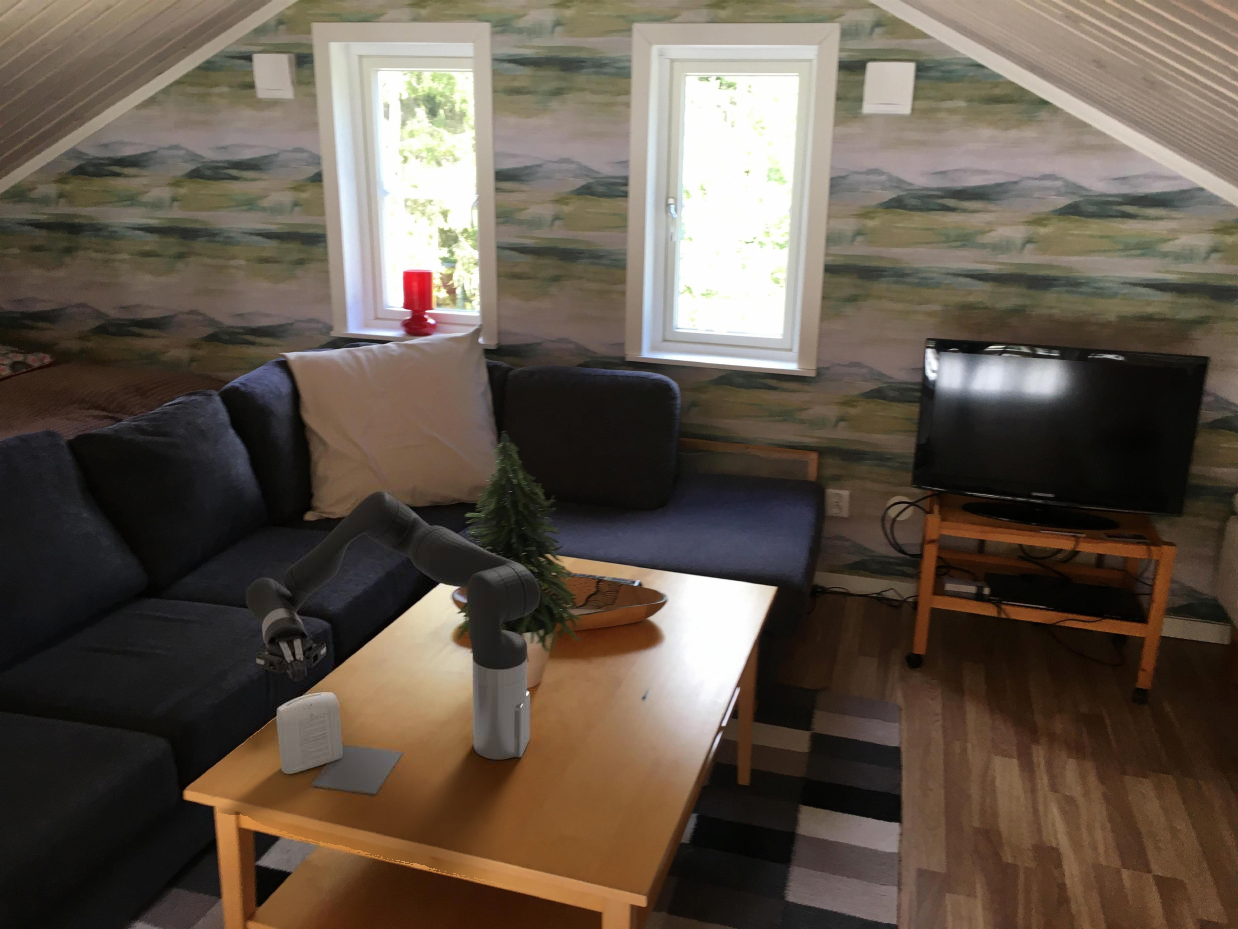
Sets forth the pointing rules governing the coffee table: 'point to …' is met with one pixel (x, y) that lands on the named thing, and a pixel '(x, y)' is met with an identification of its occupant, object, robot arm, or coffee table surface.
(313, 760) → the photo printer
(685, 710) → the coffee table surface
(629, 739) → the coffee table surface
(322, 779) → the mat
